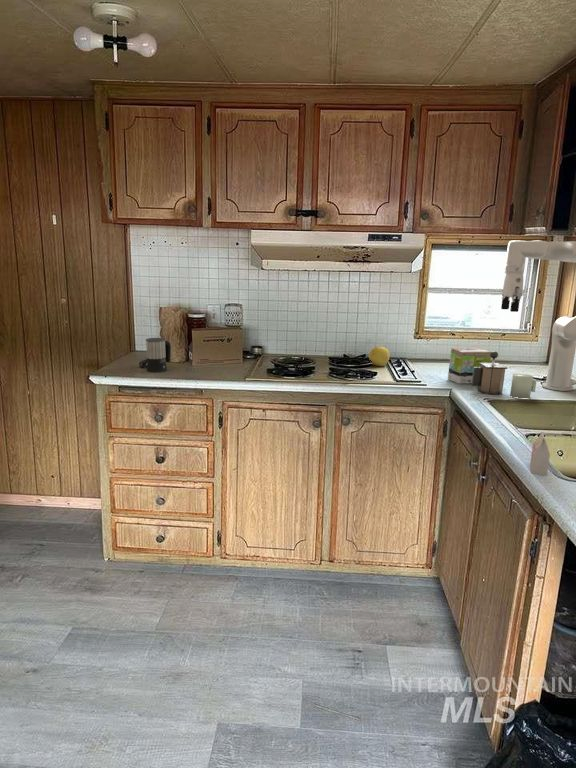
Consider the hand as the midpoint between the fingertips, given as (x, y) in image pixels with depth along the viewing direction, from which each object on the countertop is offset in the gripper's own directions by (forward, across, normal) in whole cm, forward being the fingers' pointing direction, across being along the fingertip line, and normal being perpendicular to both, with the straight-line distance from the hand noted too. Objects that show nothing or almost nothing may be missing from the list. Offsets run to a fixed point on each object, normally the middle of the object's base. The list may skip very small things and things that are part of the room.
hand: (509, 310), depth 230 cm
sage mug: (+33, -21, 0) cm, 39 cm away
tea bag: (+34, -98, +28) cm, 108 cm away
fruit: (+34, +35, +49) cm, 69 cm away
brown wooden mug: (+33, -14, +11) cm, 38 cm away
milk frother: (+34, +14, +160) cm, 164 cm away
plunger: (+32, -14, +10) cm, 36 cm away
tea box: (+34, +5, +13) cm, 36 cm away
